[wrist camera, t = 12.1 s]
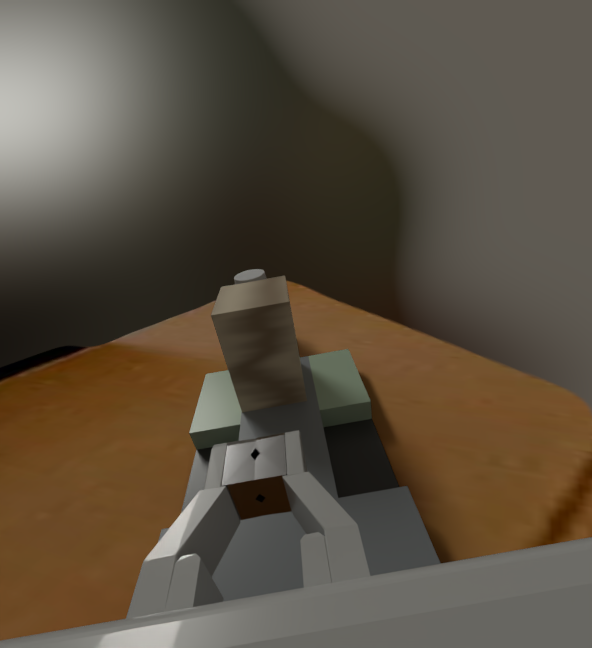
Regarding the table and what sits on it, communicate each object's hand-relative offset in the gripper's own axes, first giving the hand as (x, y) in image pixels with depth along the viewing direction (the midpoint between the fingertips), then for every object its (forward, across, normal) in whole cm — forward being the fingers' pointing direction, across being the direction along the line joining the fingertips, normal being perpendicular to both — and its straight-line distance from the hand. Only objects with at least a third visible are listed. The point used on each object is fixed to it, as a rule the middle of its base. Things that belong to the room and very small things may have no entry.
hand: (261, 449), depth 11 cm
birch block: (+17, -1, -11) cm, 20 cm away
